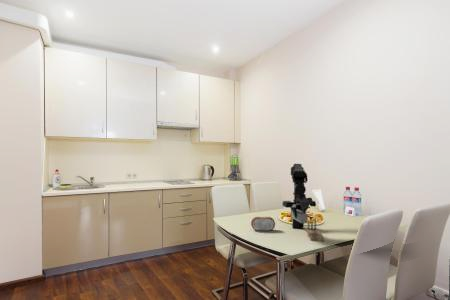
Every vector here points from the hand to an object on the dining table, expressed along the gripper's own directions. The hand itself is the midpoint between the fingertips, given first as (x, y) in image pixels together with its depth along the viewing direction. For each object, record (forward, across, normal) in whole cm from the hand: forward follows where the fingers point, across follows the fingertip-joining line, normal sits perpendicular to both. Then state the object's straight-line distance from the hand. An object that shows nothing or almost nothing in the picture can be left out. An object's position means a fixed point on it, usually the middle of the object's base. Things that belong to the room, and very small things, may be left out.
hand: (299, 218), depth 149 cm
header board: (+10, +10, 0) cm, 14 cm away
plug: (+1, 0, 0) cm, 1 cm away
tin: (+11, -17, +14) cm, 25 cm away
